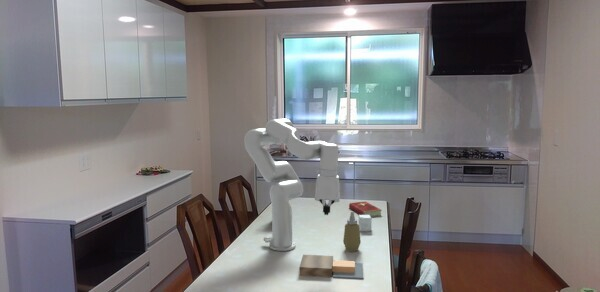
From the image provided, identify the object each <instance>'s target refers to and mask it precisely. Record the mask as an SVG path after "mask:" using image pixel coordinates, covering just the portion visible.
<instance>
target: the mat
mask: <svg viewBox="0 0 600 292" xmlns="http://www.w3.org/2000/svg"><path fill="white" fill-rule="evenodd" d="M332 278H333V279H355V280H364V279H365V278H364V266H363V263H362V262H355V273H344V272H332Z"/></svg>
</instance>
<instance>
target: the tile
mask: <svg viewBox="0 0 600 292" xmlns="http://www.w3.org/2000/svg"><path fill="white" fill-rule="evenodd" d="M355 263H356V262H355V260H341V259H340V260H339V259H337V260H334V259H333V266H332V273H333V272H344V273H355Z"/></svg>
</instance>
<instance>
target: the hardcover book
mask: <svg viewBox="0 0 600 292" xmlns="http://www.w3.org/2000/svg"><path fill="white" fill-rule="evenodd" d="M348 209H350V210H352V212H355V213H356V214H358V216H359V215H370V217H371V218H372V217H377V216H382V211H383V210H382V209H381V208H379V207H377V206H376V205H374V204H372V203H370V202H368V201H366V200H365V201H357V202H356V201H355V202H349V203H348Z"/></svg>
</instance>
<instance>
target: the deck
mask: <svg viewBox="0 0 600 292" xmlns="http://www.w3.org/2000/svg"><path fill="white" fill-rule="evenodd" d="M333 260H334V255H323V254H322V255H319V254H317V255H316V254H302V257H301V261H300V264H299V268H298V269H299V271H298V273H299V276H304V277H305V276H306V277H307V276H308V277H325V278H326V277H327V278H333V272H332V266H333Z"/></svg>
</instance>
